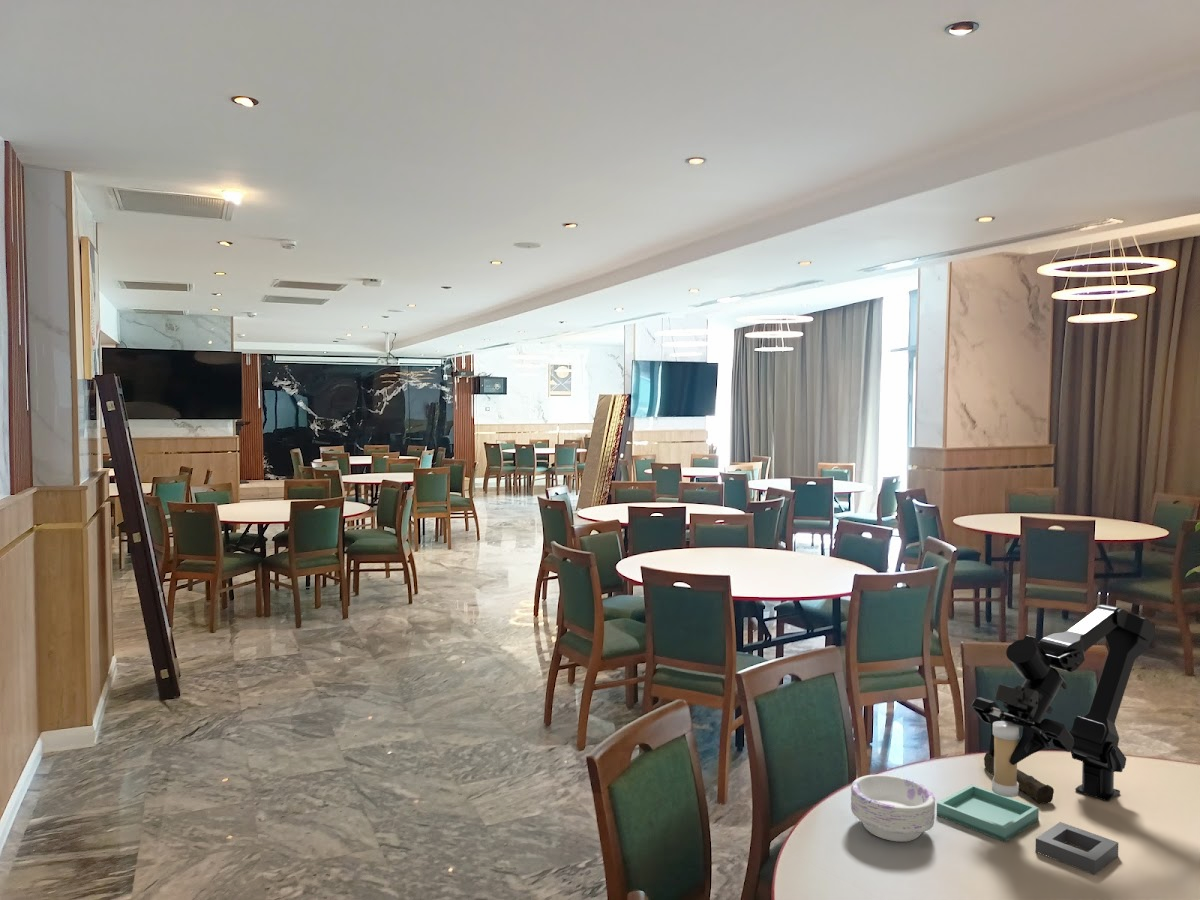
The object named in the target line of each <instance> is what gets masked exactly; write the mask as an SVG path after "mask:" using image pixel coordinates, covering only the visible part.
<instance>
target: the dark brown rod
mask: <svg viewBox="0 0 1200 900" xmlns="http://www.w3.org/2000/svg"><path fill="white" fill-rule="evenodd" d="M983 760H984V763H983V764H984V767H985V769H986V770H987V771H988V773H990V774H992V775H993V776H994V757H991V756H990V755H989V751H987V752H985V754H984V756H983ZM1017 782H1018V783H1019V789H1020V790H1021V791H1023V792H1024V793H1026V794H1027V795H1028V796H1030V797H1031V798H1033V799H1035V800H1036V802H1037V804H1038V805H1045V804H1046V805H1047V804H1050V803H1051V802H1052V801H1053V797H1054V794H1055V789H1054V788H1053V786H1051V785H1050V784H1045V783H1042V782H1041V781H1039V780H1038V779H1037V778H1035V777H1034V776H1032V775H1029V774H1027V773H1026V772H1023V771H1022V770H1020V769H1018V768H1017Z"/></svg>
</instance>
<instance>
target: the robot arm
mask: <svg viewBox="0 0 1200 900" xmlns="http://www.w3.org/2000/svg"><path fill="white" fill-rule="evenodd" d="M1155 635H1156V628H1155V626H1154V625H1153V624H1152V622H1151V620H1150V619H1148V618H1146V617H1141V616H1138V615H1135V614H1132V613H1130V612H1128V611H1126V610H1125V609H1123V608H1121V607H1118V606H1113V605H1108V604H1098V605H1096V606H1095V607H1094V610H1093V611H1091V612H1090V613H1089V614H1088V615H1086V616H1085V617H1084V618H1082V619H1081V620H1080V621H1079V622H1077V623H1076V624H1075V625H1073V626H1071V627H1070V628H1069V629H1068V630H1066V631H1063V632H1057V633H1051V634H1049V635H1046V636H1043V638H1041V639H1040V640H1039V641H1038V639H1037V638H1036V637H1035V636H1031V635H1028V634H1025V636H1024V638H1023V639H1019V640H1015V641H1014V642H1012V643H1010V644H1009V645H1008V646H1007V648H1006V651H1005V654H1006V657H1007V659H1008V660H1009V662H1010V663H1011V664H1012V666H1013V667H1014V669H1015V670H1016V672H1017V673H1019V675H1020V676H1021V677H1022V678H1024V679H1025V680H1024V682H1023V684H1022V685H1021V686H1019V685H1016V686H1015V687H1012V686H1009V685H1004V684H1002V683H998V685H997V689H996V691H995V695H994V698H993V700H995V701H999V702H1002V703H1003V704H1002V706H1003V707H1004V709H1005V710H1007V711H1004V710H1002V709H1001V708H1000V707H999V706H998V704H997V703H996V702H995V701H993V700H991V699H988V698H987V699H986V698H984V697H981V696H980V697H975V698H974V699H973V701H972V703H971V704H970V707H971V709H972V710H973V711H974V713H975V714H976V715H977V716H978V718H979V719H980V720H981V721H982V722H983V723H985V724H988V725H990V741H989V749H988V752H989V755H990V756H991V757H994V735H993V722H996V721H1006V722H1011V723H1014V724H1017V725H1018V726H1019V728H1021V729H1022V735H1021V738H1019V740H1018V742H1017V747H1016V748H1015V750H1014V752H1013V754H1012V756H1011V759H1010V763H1011V764H1012V765H1015V764H1016V763H1017V764H1018V763H1019V762H1021V761H1023V760H1024V759H1026V758H1027V757H1030V756H1031V755H1033V754H1036V753H1037V752H1039V751H1042V750H1044V749H1048V750H1050V748H1051V746H1050V743H1051V740H1052V744H1053V746H1054V747H1055V748H1056V749H1059V750H1061V751H1065V752H1068V753H1070V754H1071V758H1072V759H1073V760H1076V761H1079V762H1082V763H1081V767H1082V768H1081V769H1082V771H1081V773H1082V774H1081V775H1082V776H1081V777H1082V778H1081V779H1082V780H1081V784H1080V785H1077V787H1075V792H1077V793H1081V794H1084V795H1087V796H1090V797H1093V798H1096V799H1098V800H1099V799H1100V800H1102V801H1106V802H1109V801H1111V800H1113V799H1114V798H1116V797H1117V796H1118V795H1120V794H1121V790H1119V789H1116V788H1115V787H1114V785H1115V784H1114V783H1115V781H1114V780H1115V772H1116V773H1122V772H1123V770H1124V769H1125V767H1126V763H1127V757H1126V755H1125V754H1124V753H1123V752H1122V750H1121V749H1120V748H1119V743H1120V742H1119V741H1120V736H1119V734H1118V730H1117V728H1116V719H1117V716H1118V713H1119V710H1120V708H1121V707H1120V706H1121V705H1122V700H1123V697H1124V696H1125V691H1126V688H1127V685H1128V682H1129V680H1130V675H1131V672H1132V670H1133V666H1134V663H1135V660H1136V659H1138V658H1139V657H1140V656H1141V655H1143V654H1144V653H1146V652H1147V651H1148V649H1149V647H1150V645H1151V643H1152V641H1153V639H1154V638H1155ZM1104 637H1105V641H1106V644H1107V647H1108V653H1107V656H1106V659H1105V662H1104V665H1103V668H1102V671H1101V674H1100V677H1099V680H1098V683H1097V686H1096V689H1095V692H1094V694H1093V698H1092V701H1091V704H1090V707H1089V711H1088V712H1087V713H1086V714H1084V715H1083V716H1082V717H1081V716H1079V715H1077V716H1076V717H1075V718H1074V719H1073V720H1074V721H1073V725H1072V728H1071V730H1070V731H1069V730H1068V728H1067V727H1066V726H1065V724H1063V723H1062V722H1057V721H1056V720H1053V719H1049V718H1044V717H1045V715H1046V714H1047V713H1048V714H1052V711H1053V708H1052V707H1051V704H1052V702H1053V700H1054V699H1055V697H1056V695H1057V693H1058V691H1059V689H1061V690H1067V687H1068V686H1067V682H1066V680H1065V675H1064V674H1060V673H1059V671H1058V670H1060V671H1061V670H1062V671H1065V672H1070V673H1073V672H1075V671H1076V670H1078V669H1079V668H1080V667H1081V665H1082V664H1083V663H1084V662H1085V660H1086V656H1085V653H1086V652H1087V651H1088V650H1089V649H1090V648H1092V647H1093V646H1094V645H1096V644H1097V643H1098V642H1099V641H1100V640H1102V639H1104ZM1057 669H1058V670H1057Z"/></svg>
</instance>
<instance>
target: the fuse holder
mask: <svg viewBox="0 0 1200 900" xmlns="http://www.w3.org/2000/svg"><path fill="white" fill-rule="evenodd" d="M1064 843H1065V844H1064ZM1066 843H1067V844H1066ZM1069 844H1070V845H1069ZM1072 845H1073V846H1072ZM1074 846H1075V847H1074ZM1077 847H1078V848H1077ZM1085 850H1086V851H1085ZM1038 852H1039V854H1040V853H1041V854H1040V855H1043V854H1044V855H1043V856H1045V855H1047V856H1046V857H1048V856H1049V857H1048V858H1050V857H1051V858H1050V859H1054V860H1055V859H1056V861H1059V862H1061V863H1064V864H1066V865H1068V866H1071V867H1074V868H1076V869H1079V870H1082V871H1083V872H1087V873H1089V874H1092V875H1093V876H1094V875H1097V874H1098V873H1099V872H1100V871H1102V870H1103V869H1105V867H1107V866H1108V865H1109V864H1110V863H1111V862H1114V860H1115V859H1116V858H1118V857H1119V842H1118V841H1117V840H1112V839H1109V838H1106V837H1104V836H1102V835H1099V834H1096V833H1092V832H1090V831H1087V830H1084V829H1082V828H1080V827H1075V826H1073V825H1071V824H1068V823H1064V822H1062V821H1059V822H1057V823H1056V824H1055V825H1053V826H1052V827H1050V828H1049V829H1047V830H1046V831H1044V832H1043V833H1041V834H1039V835H1038V836H1037V837H1035V853H1038Z"/></svg>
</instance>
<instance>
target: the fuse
mask: <svg viewBox="0 0 1200 900" xmlns="http://www.w3.org/2000/svg"><path fill="white" fill-rule="evenodd" d="M993 735H994V775H993V778H992V779H991V791H992V792H994V793H995V794H997V795H1000V796H1004V797H1009V798H1016V797H1018V796H1019V791H1020V790H1019V783H1018V782H1017V769H1018V763H1016V764H1015V765H1012V764H1011V763H1010V759H1011V756H1012V754H1013V752H1014V750H1015V748H1016V747H1017V745H1018V740H1020V727H1019V726H1018V725H1017V724H1014V723H1011V722H1006V721H996V722H993Z"/></svg>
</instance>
